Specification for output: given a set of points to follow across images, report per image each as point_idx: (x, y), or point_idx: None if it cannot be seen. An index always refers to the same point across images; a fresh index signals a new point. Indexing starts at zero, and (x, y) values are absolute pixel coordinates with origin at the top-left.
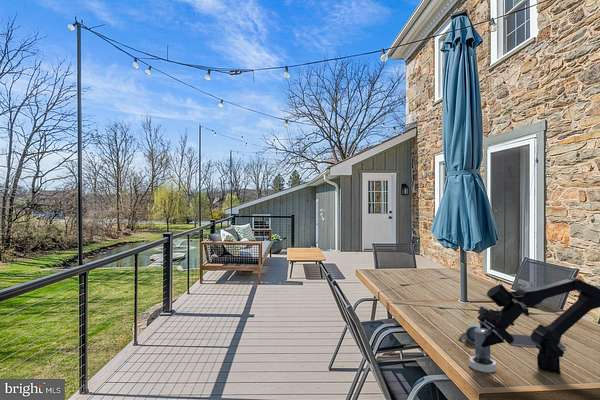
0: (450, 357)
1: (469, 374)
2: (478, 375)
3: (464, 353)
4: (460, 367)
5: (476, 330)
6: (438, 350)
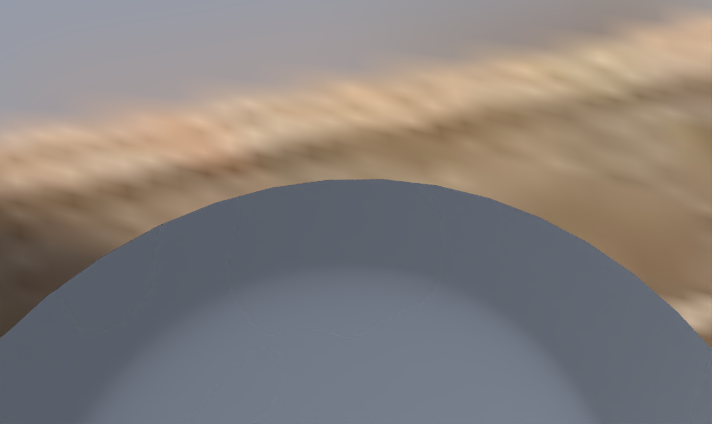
0: (501, 105)
1: (60, 194)
2: (41, 292)
3: (668, 286)
4: (245, 144)
5: (270, 259)
6: (656, 30)
